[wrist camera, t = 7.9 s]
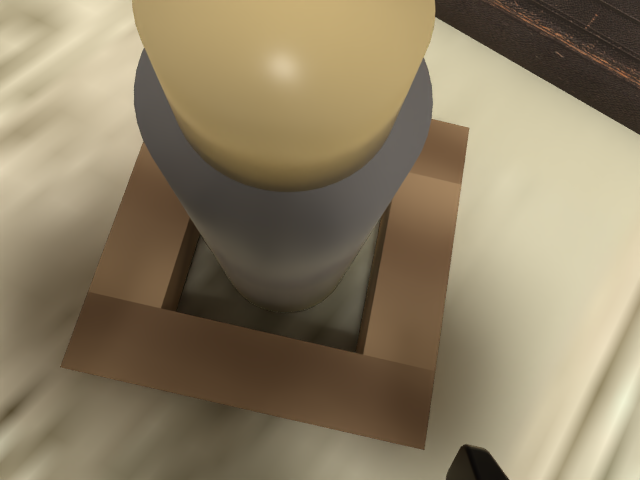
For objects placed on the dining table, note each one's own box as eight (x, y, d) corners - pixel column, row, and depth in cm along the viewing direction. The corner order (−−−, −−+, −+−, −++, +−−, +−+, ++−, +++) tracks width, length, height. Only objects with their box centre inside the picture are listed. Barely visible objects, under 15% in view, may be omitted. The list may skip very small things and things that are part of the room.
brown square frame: (408, 440, 17) (424, 449, 15) (86, 367, 16) (60, 367, 15) (451, 151, 20) (469, 127, 18) (184, 88, 20) (174, 58, 18)
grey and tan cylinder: (369, 280, 18) (555, 84, 6) (253, 334, 17) (168, 245, 5) (315, 174, 19) (372, -187, 7) (203, 220, 18) (27, -98, 6)
